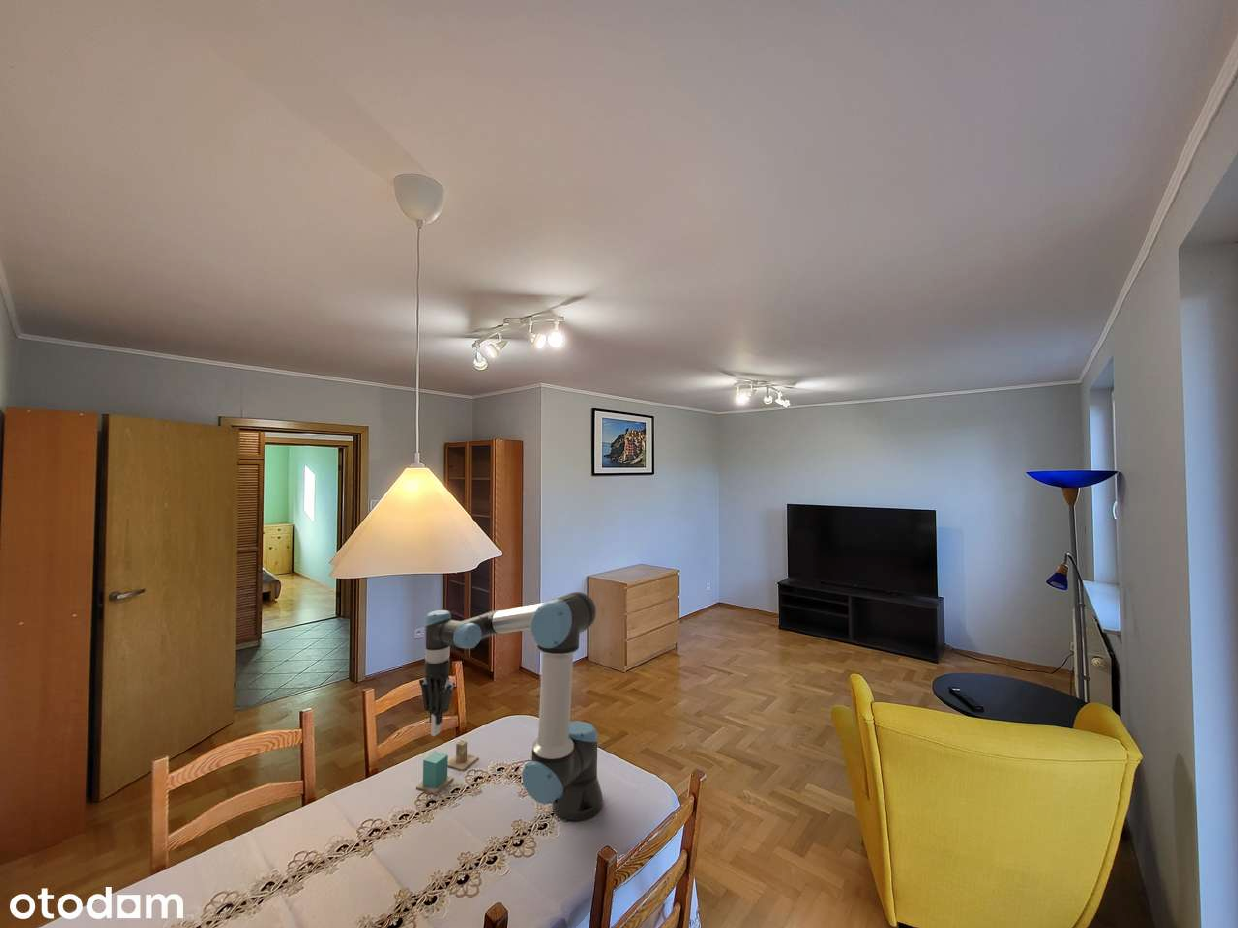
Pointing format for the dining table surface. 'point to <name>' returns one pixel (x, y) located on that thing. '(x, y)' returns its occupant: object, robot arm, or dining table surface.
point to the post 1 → (433, 790)
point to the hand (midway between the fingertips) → (435, 733)
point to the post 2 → (461, 757)
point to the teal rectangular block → (435, 769)
